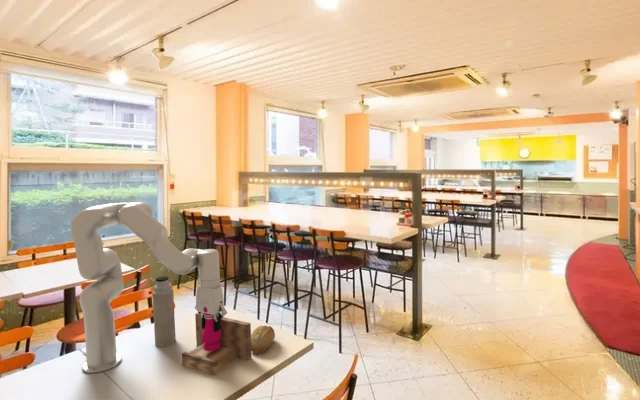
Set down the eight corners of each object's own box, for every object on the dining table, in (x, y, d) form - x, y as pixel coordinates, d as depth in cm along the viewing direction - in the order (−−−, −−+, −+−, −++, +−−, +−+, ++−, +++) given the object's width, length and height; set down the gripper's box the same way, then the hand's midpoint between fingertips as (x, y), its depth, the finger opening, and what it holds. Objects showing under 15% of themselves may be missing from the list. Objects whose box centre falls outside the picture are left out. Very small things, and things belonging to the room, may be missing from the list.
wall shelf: (172, 361, 134) (170, 326, 133) (200, 344, 147) (198, 311, 146) (226, 378, 123) (225, 339, 122) (251, 358, 136) (250, 323, 135)
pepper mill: (216, 352, 131) (214, 300, 129) (198, 351, 132) (196, 299, 130) (225, 343, 138) (223, 293, 136) (208, 341, 139) (206, 292, 137)
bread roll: (279, 338, 152) (278, 320, 151) (268, 356, 137) (268, 337, 137) (257, 337, 153) (257, 319, 153) (245, 355, 139) (244, 335, 138)
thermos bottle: (175, 336, 155) (172, 273, 152) (175, 344, 147) (172, 279, 145) (155, 339, 152) (152, 276, 149) (154, 348, 144) (150, 281, 142)
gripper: (185, 282, 133) (187, 328, 134) (220, 288, 126) (222, 337, 127) (199, 276, 140) (201, 321, 141) (234, 282, 132) (235, 328, 134)
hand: (211, 328), depth 134 cm, fingers closed on pepper mill, 5 cm apart
